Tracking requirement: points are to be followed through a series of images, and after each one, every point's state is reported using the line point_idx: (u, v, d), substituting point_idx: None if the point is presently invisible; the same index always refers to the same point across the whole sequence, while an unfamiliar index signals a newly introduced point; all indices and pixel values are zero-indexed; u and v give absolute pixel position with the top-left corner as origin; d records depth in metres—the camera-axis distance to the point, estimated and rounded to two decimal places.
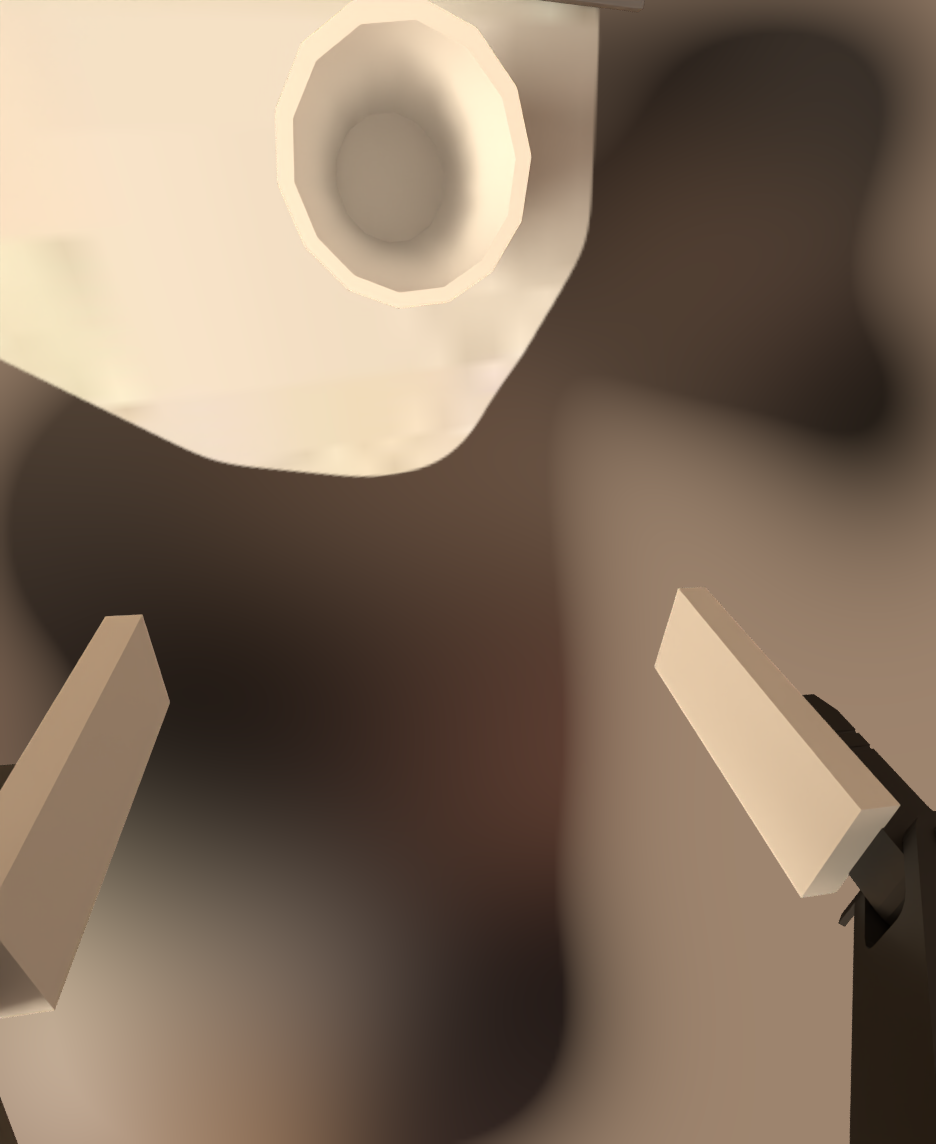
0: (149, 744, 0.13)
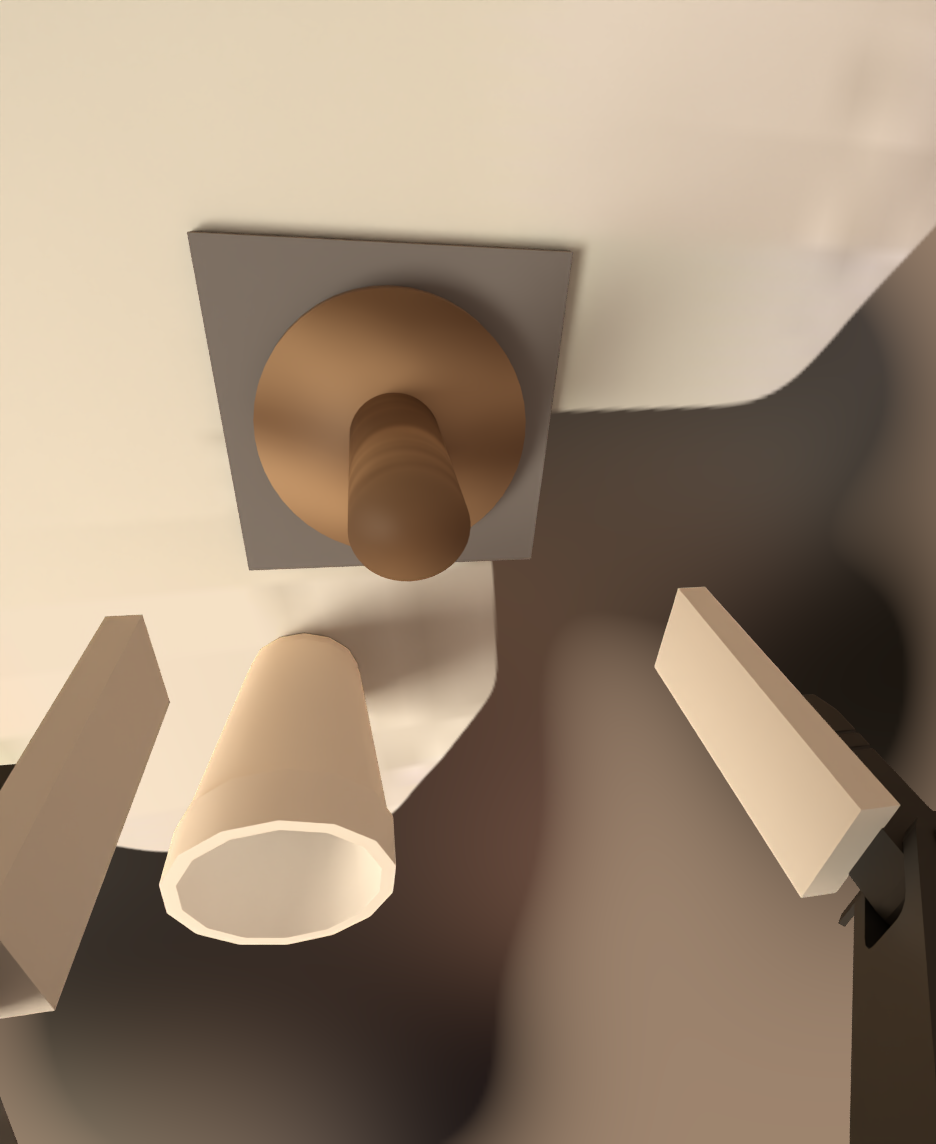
0: (149, 744, 0.13)
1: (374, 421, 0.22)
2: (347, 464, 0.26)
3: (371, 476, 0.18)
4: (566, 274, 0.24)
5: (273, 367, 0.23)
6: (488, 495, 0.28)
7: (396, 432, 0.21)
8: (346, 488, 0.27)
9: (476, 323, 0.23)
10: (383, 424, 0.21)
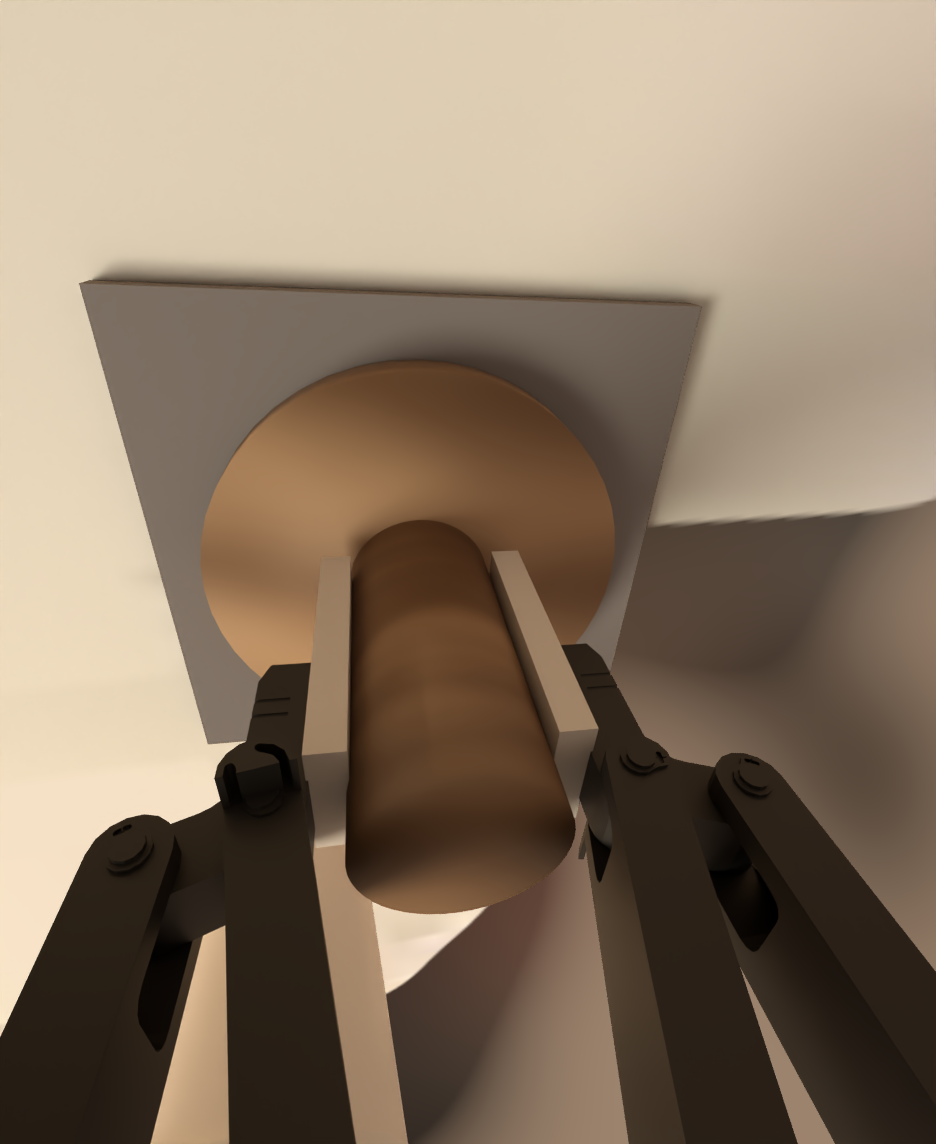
0: None
1: (392, 591, 0.13)
2: None
3: (390, 765, 0.09)
4: (688, 339, 0.16)
5: (228, 491, 0.15)
6: None
7: (431, 629, 0.12)
8: None
9: (551, 418, 0.15)
10: (407, 604, 0.13)
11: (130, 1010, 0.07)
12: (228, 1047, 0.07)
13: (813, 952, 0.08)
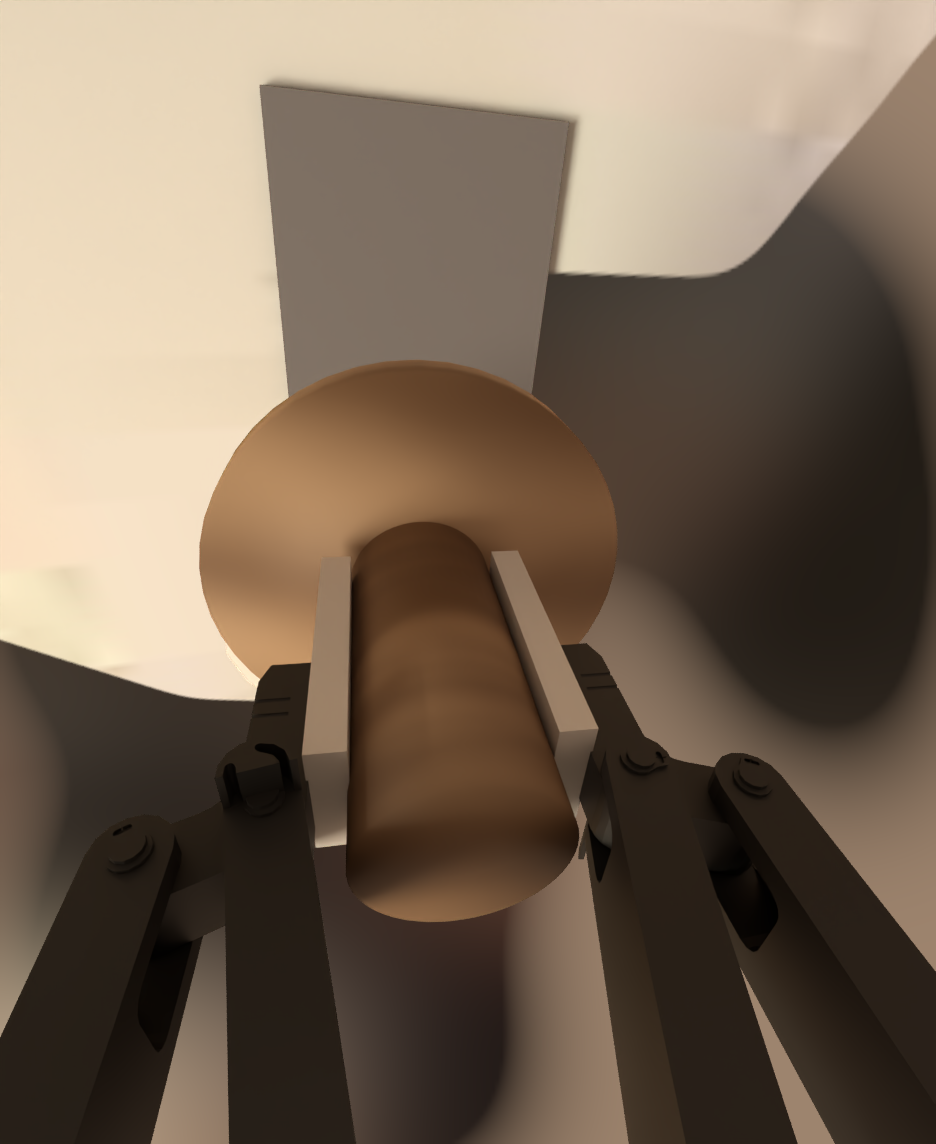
0: None
1: (392, 594, 0.13)
2: None
3: (391, 772, 0.09)
4: (563, 141, 0.29)
5: (227, 493, 0.14)
6: None
7: (432, 633, 0.12)
8: None
9: (553, 419, 0.15)
10: (407, 607, 0.13)
11: (130, 1010, 0.07)
12: (228, 1047, 0.07)
13: (813, 952, 0.08)
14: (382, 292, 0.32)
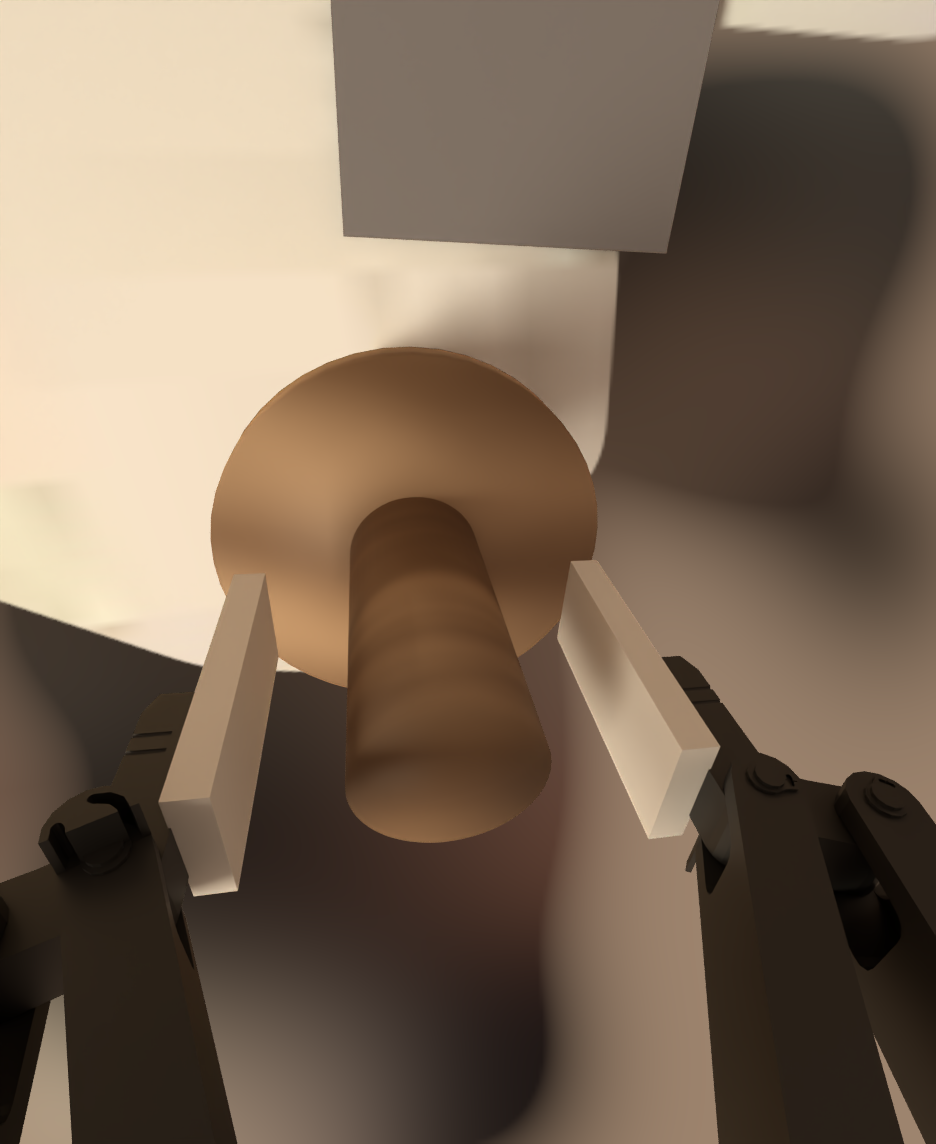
0: (270, 688, 0.14)
1: (387, 558, 0.14)
2: (347, 590, 0.18)
3: (385, 699, 0.11)
4: None
5: (237, 469, 0.16)
6: (540, 620, 0.20)
7: (423, 589, 0.13)
8: (345, 620, 0.19)
9: (535, 401, 0.16)
10: (401, 568, 0.14)
11: None
12: (74, 1141, 0.06)
13: None
14: (480, 45, 0.22)
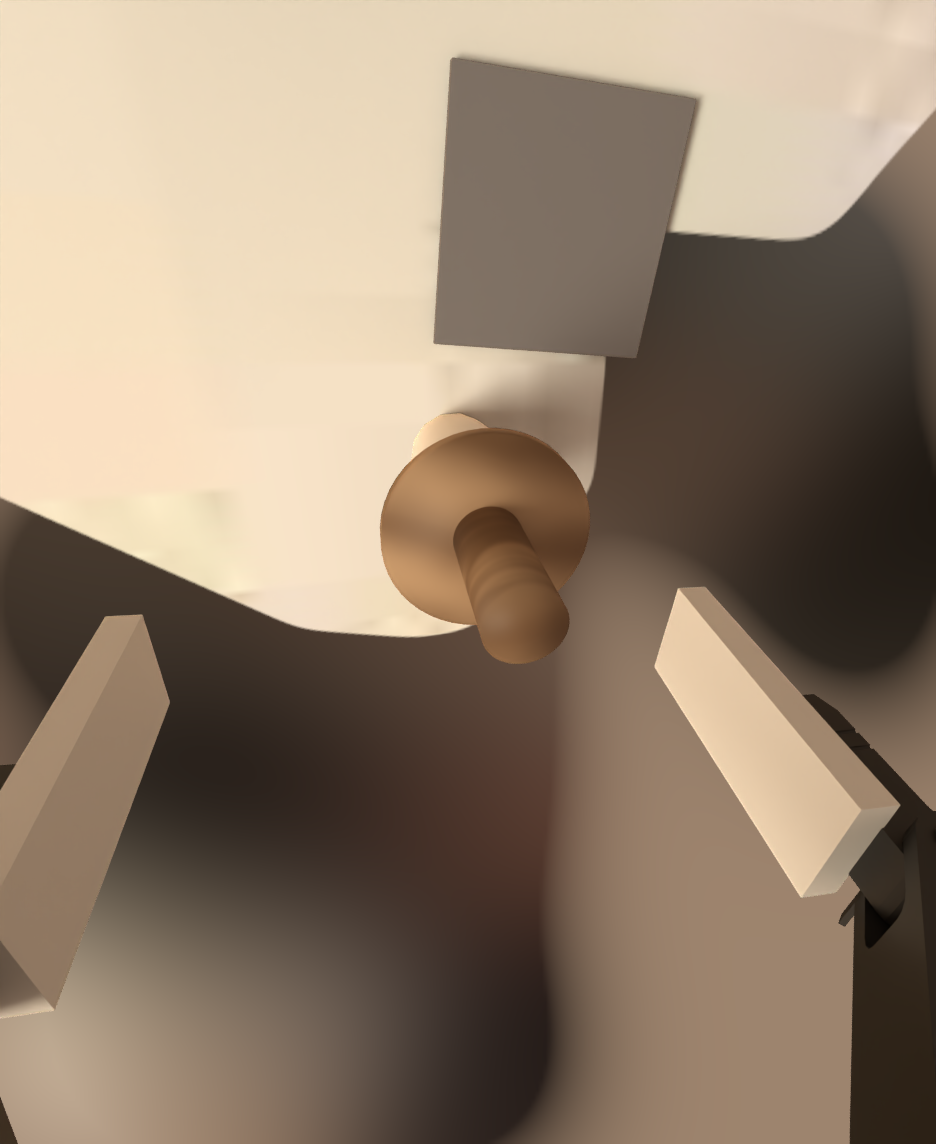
0: (149, 744, 0.13)
1: (485, 535, 0.29)
2: (448, 558, 0.33)
3: (500, 590, 0.25)
4: (690, 116, 0.35)
5: (403, 487, 0.30)
6: (554, 582, 0.35)
7: (508, 548, 0.27)
8: (444, 575, 0.33)
9: (560, 458, 0.31)
10: (494, 540, 0.28)
11: None
12: None
13: None
14: (526, 242, 0.37)
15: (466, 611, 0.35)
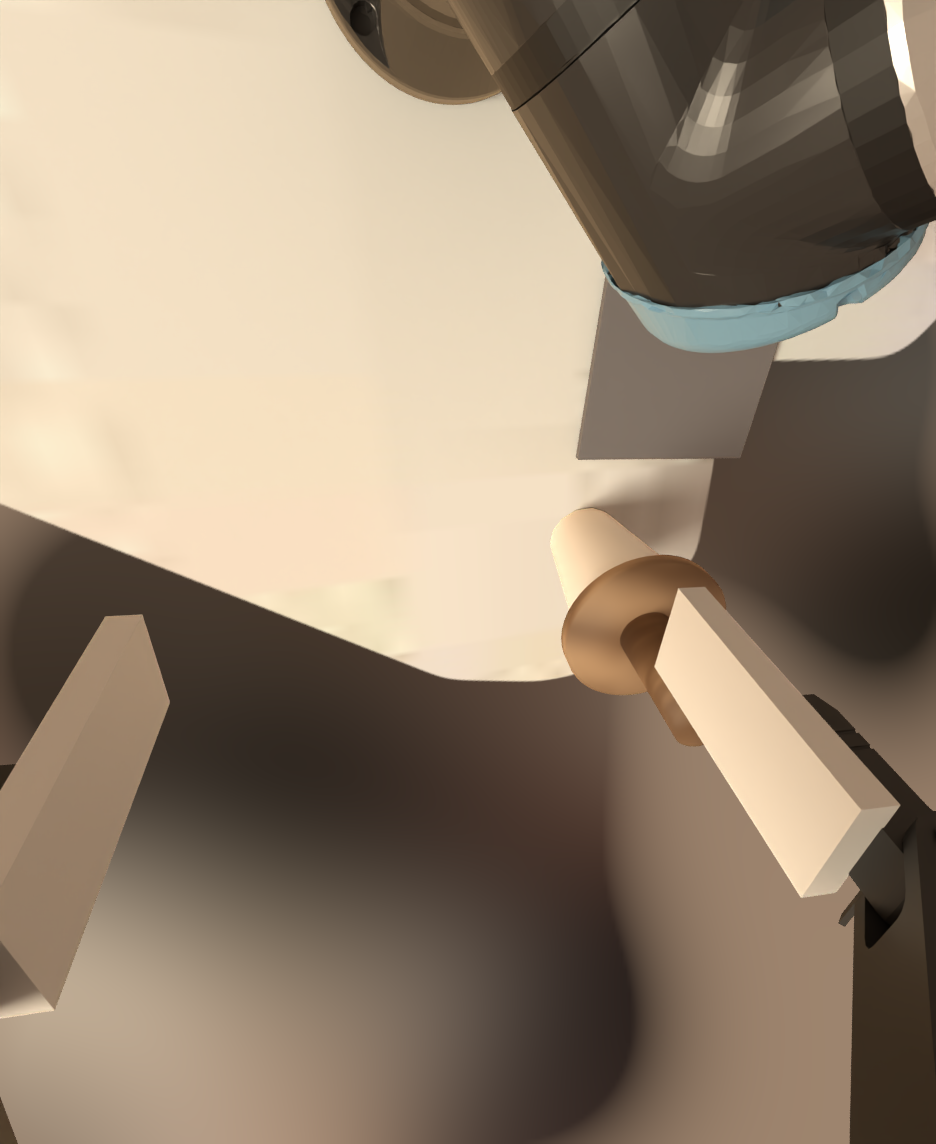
0: (149, 744, 0.13)
1: (658, 643, 0.38)
2: (615, 649, 0.42)
3: None
4: None
5: (589, 604, 0.39)
6: None
7: None
8: (610, 662, 0.42)
9: (708, 576, 0.39)
10: None
11: None
12: None
13: None
14: (658, 380, 0.45)
15: (622, 686, 0.44)
